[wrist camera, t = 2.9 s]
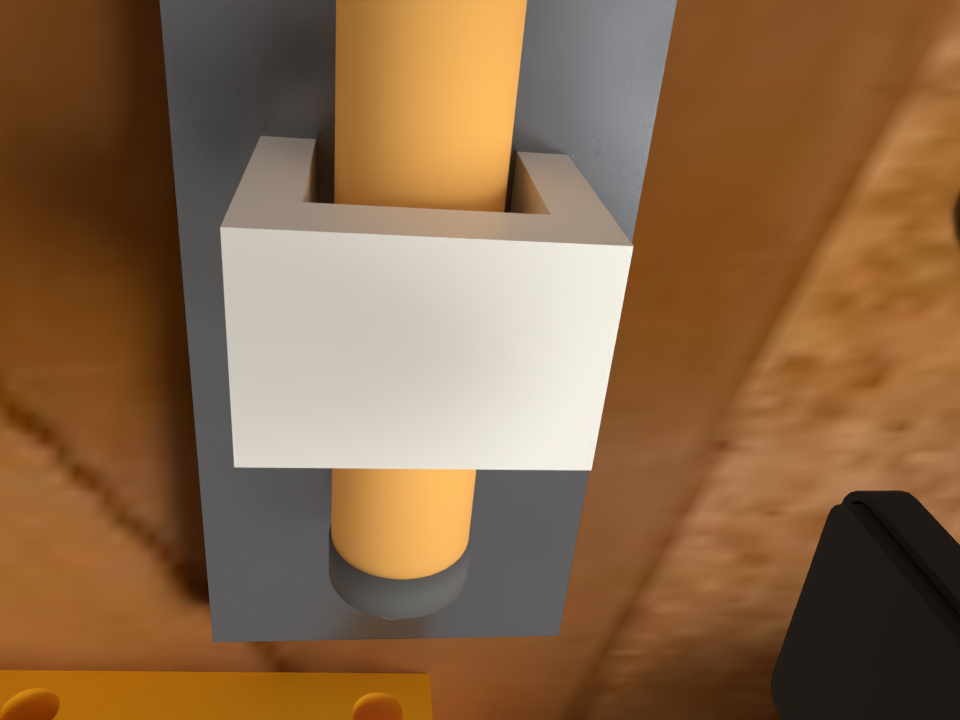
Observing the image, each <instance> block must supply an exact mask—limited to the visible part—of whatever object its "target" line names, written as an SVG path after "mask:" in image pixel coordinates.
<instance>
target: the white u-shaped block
mask: <svg viewBox="0 0 960 720" xmlns="http://www.w3.org/2000/svg"><path fill="white" fill-rule="evenodd" d="M220 233H221V250H222V267H223V284H224V301H225V318H226V335H227V352H228V370H229V387H230V404H231V421H232V438H233V455H234V467H245V468H362V469H480V470H591V469H592V464H593V459H594V453H595V448H596V443H597V437H598V432H599V427H600V421H601V416H602V411H603V405H604V400H605V395H606V389H607V384H608V379H609V374H610V368H611V363H612V358H613V352H614V347H615V342H616V336H617V331H618V326H619V320H620V315H621V310H622V304H623V299H624V294H625V288H626V283H627V278H628V273H629V267H630V262H631V257H632V251H633V245H632V244H631V242H630V241H629V239H628V238H627V237H626V235H625V234H624V232H623V231H622V230H621V228H620V227H619V225H618V224H617V223H616V221H615V220H614V219H613V217H612V216H611V214H610V213H609V212H608V210H607V209H606V207H605V206H604V205H603V203H602V202H601V200H600V199H599V198H598V196H597V195H596V193H595V192H594V191H593V189H592V188H591V186H590V185H589V184H588V182H587V181H586V179H585V178H584V177H583V175H582V174H581V172H580V171H579V170H578V168H577V167H576V165H575V164H574V163H573V161H572V160H571V158H570V157H569V156H568V155H565V154H549V153H532V152H517V156H516V165H515V174H514V183H513V191H512V200H511V209H510V213H504V212H485V211H465V210H446V209H426V208H406V207H387V206H367V205H348V204H328V203H316V139H304V138H288V137H271V136H260V139H259V141H258V143H257V145H256V148H255V150H254V152H253V154H252V157H251V159H250V161H249V163H248V166H247V168H246V170H245V172H244V175H243V177H242V179H241V181H240V184H239V186H238V188H237V190H236V193H235V195H234V197H233V199H232V202H231V204H230V206H229V208H228V211H227V213H226V215H225V217H224V220H223V222H222V224H221V226H220Z"/></svg>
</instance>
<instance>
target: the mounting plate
mask: <svg viewBox="0 0 960 720" xmlns="http://www.w3.org/2000/svg"><path fill="white" fill-rule="evenodd" d="M676 3H677V0H527V6H526V16H525V25H524V34H523V43H522V52H521V62H520V71H519V80H518V89H517V98H516V108H515V117H514V126H513V135H512V145H511V154H510V163H509V172H508V181H507V191H506V200H505V209H504V213H510V209H511V200H512V191H513V183H514V174H515V165H516V156H517V152H532V153H549V154H565V155H568V156H569V157H570V158H571V160H572V161H573V163H574V164H575V165H576V167H577V168H578V170H579V171H580V172H581V174H582V175H583V177H584V178H585V179H586V181H587V182H588V184H589V185H590V186H591V188H592V189H593V191H594V192H595V193H596V195H597V196H598V198H599V199H600V200H601V202H602V203H603V205H604V206H605V207H606V209H607V210H608V212H609V213H610V214H611V216H612V217H613V219H614V220H615V221H616V223H617V224H618V225H619V227H620V228H621V230H622V231H623V232H624V234H625V235H626V237H627V238H628V239H629V241H630V242H631V244H632V239H633V233H634V228H635V223H636V217H637V212H638V206H639V201H640V196H641V190H642V185H643V180H644V174H645V169H646V164H647V158H648V153H649V148H650V142H651V137H652V131H653V126H654V121H655V115H656V110H657V105H658V99H659V94H660V89H661V83H662V78H663V73H664V67H665V62H666V56H667V51H668V46H669V40H670V35H671V30H672V24H673V19H674V14H675V8H676ZM160 12H161V24H162V36H163V48H164V60H165V72H166V84H167V96H168V108H169V120H170V132H171V144H172V156H173V168H174V180H175V192H176V204H177V216H178V228H179V240H180V252H181V264H182V277H183V289H184V301H185V313H186V325H187V337H188V349H189V361H190V373H191V385H192V397H193V409H194V421H195V433H196V445H197V457H198V469H199V481H200V493H201V505H202V517H203V529H204V541H205V553H206V565H207V577H208V589H209V601H210V613H211V625H212V637H213V642H255V641H307V640H359V639H411V638H464V637H516V636H558V635H559V630H560V624H561V619H562V614H563V608H564V603H565V598H566V592H567V587H568V581H569V576H570V571H571V565H572V560H573V555H574V549H575V544H576V539H577V533H578V528H579V523H580V517H581V512H582V506H583V501H584V496H585V490H586V485H587V480H588V474H589V470H480V469H476V476H475V485H474V495H473V504H472V513H471V522H470V530H471V547H470V556H469V565H468V574H467V580H466V583H465V586H464V588H463V589H462V591H461V593H460V594H459V595H458V596H457V598H455V599H454V600H453V601H452V602H451V603H450V604H448V605H447V606H446V607H444V608H442V609H440V610H438V611H436V612H434V613H431V614H429V615H425V616H421V617H416V618H410V619H389V618H381V617H377V616H373V615H370V614H367V613H364V612H362V611H360V610H358V609H355V608H354V607H352V606H351V605H349V604H348V603H346V602H345V601H344V600H343V599H342V598H341V597H340V596H339V595H338V594H337V592H336V591H335V589H334V588H333V586H332V584H331V581H330V577H329V529H330V525H331V511H332V468H245V467H234V455H233V438H232V421H231V404H230V387H229V370H228V352H227V335H226V318H225V301H224V284H223V267H222V250H221V233H220V226H221V224H222V222H223V220H224V217H225V215H226V213H227V211H228V208H229V206H230V204H231V202H232V199H233V197H234V195H235V193H236V190H237V188H238V186H239V184H240V181H241V179H242V177H243V175H244V172H245V170H246V168H247V166H248V163H249V161H250V159H251V157H252V154H253V152H254V150H255V148H256V145H257V143H258V141H259V139H260V136H271V137H288V138H304V139H316V203H328V204H334V175H335V62H336V0H160Z"/></svg>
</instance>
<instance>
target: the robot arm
mask: <svg viewBox="0 0 960 720" xmlns="http://www.w3.org/2000/svg"><path fill="white" fill-rule="evenodd" d="M771 689H772V697H773V701H774V704H775V707H776V709H777V711H778V713H779V715H780V717H781V719H782V720H960V545H959V544H958V543H957V542H956V541H955V540H954V538H953V537H952V536H951V535H950V534H949V533H948V532H947V531H946V530H945V529H944V528H943V527H942V526H941V525H940V523H939V522H938V521H937V520H936V519H935V518H934V517H933V516H932V515H931V514H930V513H929V512H928V511H927V510H926V509H925V507H924V506H923V505H922V504H921V503H920V502H919V501H918V500H917V499H916V498H915V497H914V496H912V495H911V494H910V493H908V492H904V491H855V492H851V493H849V494H848V495H847V496H846V497H845V498H844V500H843V502H842V504H840V505H835V506H834V507H833V508H832V509H831V511H830V513H829V515H828V517H827V520H826V523H825V526H824V528H823V531H822V534H821V537H820V540H819V543H818V546H817V548H816V551H815V554H814V557H813V560H812V563H811V566H810V568H809V571H808V574H807V577H806V580H805V583H804V585H803V588H802V591H801V594H800V597H799V600H798V603H797V605H796V608H795V611H794V614H793V617H792V620H791V623H790V625H789V628H788V631H787V634H786V637H785V640H784V643H783V645H782V648H781V651H780V654H779V657H778V660H777V662H776V665H775V668H774V671H773V674H772V679H771Z"/></svg>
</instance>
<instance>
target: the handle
mask: <svg viewBox="0 0 960 720" xmlns="http://www.w3.org/2000/svg"><path fill="white" fill-rule="evenodd" d="M526 6H527V0H336V62H335V175H334V204H348V205H367V206H387V207H406V208H426V209H446V210H465V211H485V212H504V209H505V200H506V191H507V181H508V172H509V163H510V154H511V145H512V135H513V126H514V117H515V108H516V98H517V89H518V80H519V71H520V62H521V52H522V43H523V34H524V25H525V16H526ZM475 476H476V469H362V468H332V511H331V525H330V529H329V577H330V581H331V584H332V586H333V588H334V589H335V591H336V592H337V594H338V595H339V596H340V597H341V598H342V599H343V600H344V601H345V602H346V603H348V604H349V605H351V606H352V607H354V608H355V609H358V610H360V611H362V612H364V613H367V614H370V615H373V616H377V617H381V618H389V619H410V618H416V617H421V616H425V615H429V614H431V613H434V612H436V611H438V610H440V609H442V608H444V607H446V606H447V605H448V604H450V603H451V602H452V601H453V600H454V599H455V598H457V596H458V595H459V594H460V593H461V591H462V589H463V588H464V586H465V583H466V580H467V574H468V565H469V556H470V547H471V530H470V522H471V513H472V504H473V495H474V485H475Z"/></svg>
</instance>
